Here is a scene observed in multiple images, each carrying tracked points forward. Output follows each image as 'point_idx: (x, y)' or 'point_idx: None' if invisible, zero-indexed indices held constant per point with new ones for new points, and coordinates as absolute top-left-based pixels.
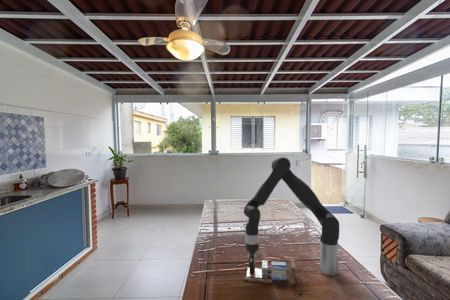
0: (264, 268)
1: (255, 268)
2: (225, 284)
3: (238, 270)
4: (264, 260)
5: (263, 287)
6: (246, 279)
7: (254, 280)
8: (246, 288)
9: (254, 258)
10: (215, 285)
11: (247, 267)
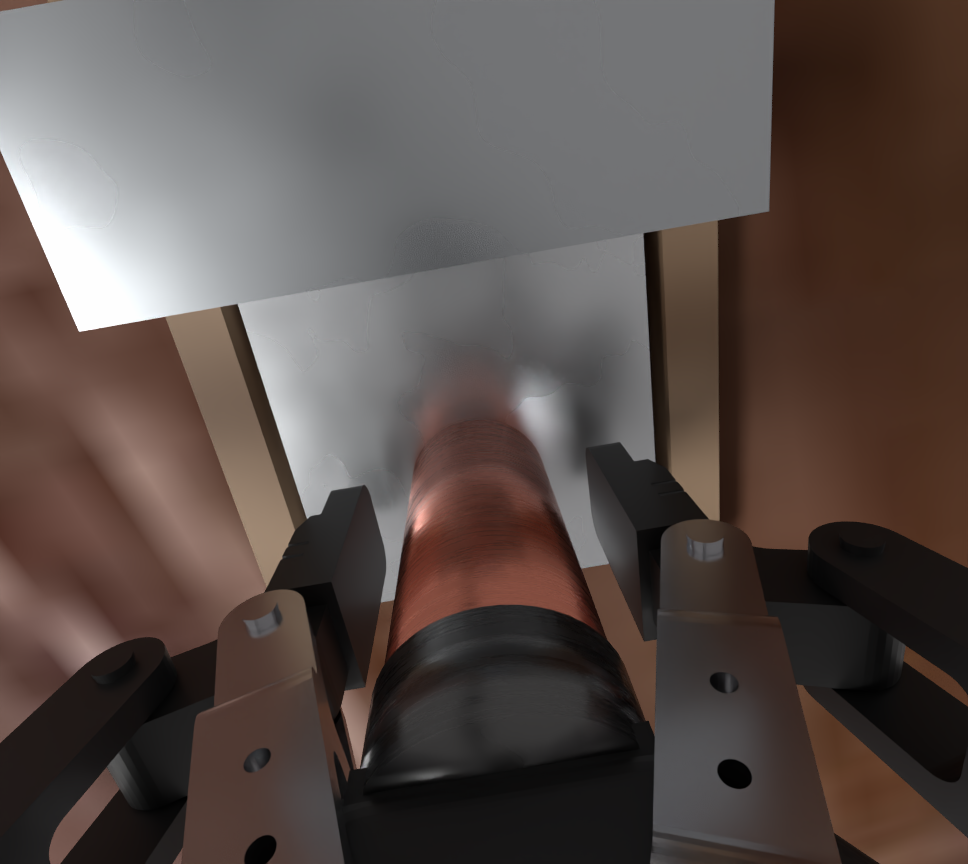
0: (753, 73)
1: (266, 454)
2: (847, 742)
3: None
4: (44, 214)
5: (884, 112)
6: (713, 518)
7: (709, 364)
8: (933, 445)
9: (824, 818)
10: (881, 827)
11: None
